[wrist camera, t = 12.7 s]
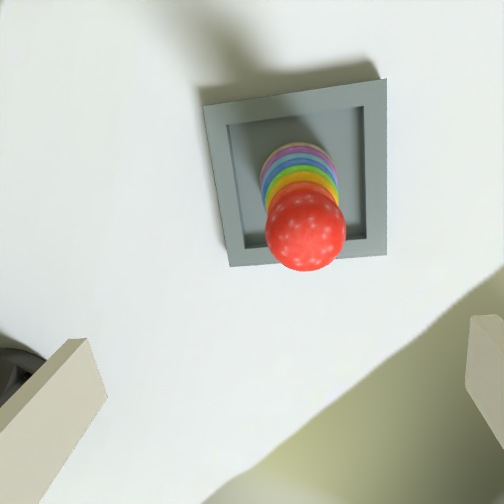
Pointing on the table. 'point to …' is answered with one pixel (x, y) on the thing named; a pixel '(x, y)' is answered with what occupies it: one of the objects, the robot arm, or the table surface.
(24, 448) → the robot arm
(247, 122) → the gray square tray
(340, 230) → the stacking toy
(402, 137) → the table surface
